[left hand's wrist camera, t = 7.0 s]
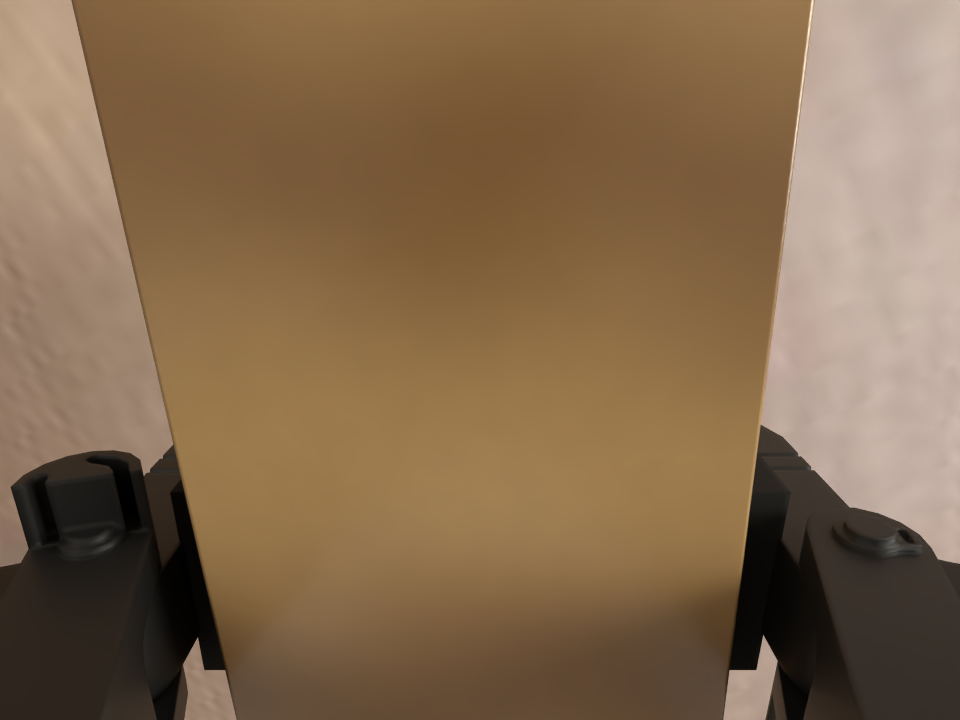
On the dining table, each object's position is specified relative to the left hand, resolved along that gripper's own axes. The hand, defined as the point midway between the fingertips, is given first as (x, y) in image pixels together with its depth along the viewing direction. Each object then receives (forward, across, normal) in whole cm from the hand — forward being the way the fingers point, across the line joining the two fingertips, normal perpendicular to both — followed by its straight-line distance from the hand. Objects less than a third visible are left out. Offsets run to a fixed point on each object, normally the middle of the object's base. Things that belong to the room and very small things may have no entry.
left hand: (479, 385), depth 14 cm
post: (+1, +1, -23) cm, 23 cm away
